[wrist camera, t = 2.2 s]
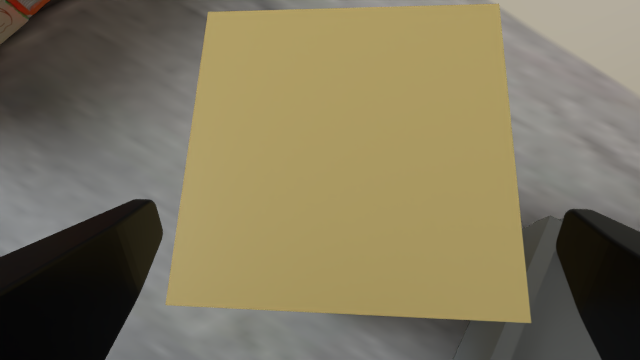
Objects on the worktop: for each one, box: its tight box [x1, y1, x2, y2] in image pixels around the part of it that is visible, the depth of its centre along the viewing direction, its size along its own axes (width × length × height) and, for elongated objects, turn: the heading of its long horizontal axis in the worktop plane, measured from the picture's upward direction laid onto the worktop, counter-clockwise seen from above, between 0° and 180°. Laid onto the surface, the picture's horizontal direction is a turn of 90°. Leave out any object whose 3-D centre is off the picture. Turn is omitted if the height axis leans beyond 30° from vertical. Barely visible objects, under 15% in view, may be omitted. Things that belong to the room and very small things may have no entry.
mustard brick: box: [166, 4, 531, 323], centre depth 11 cm, size 4×4×12 cm
